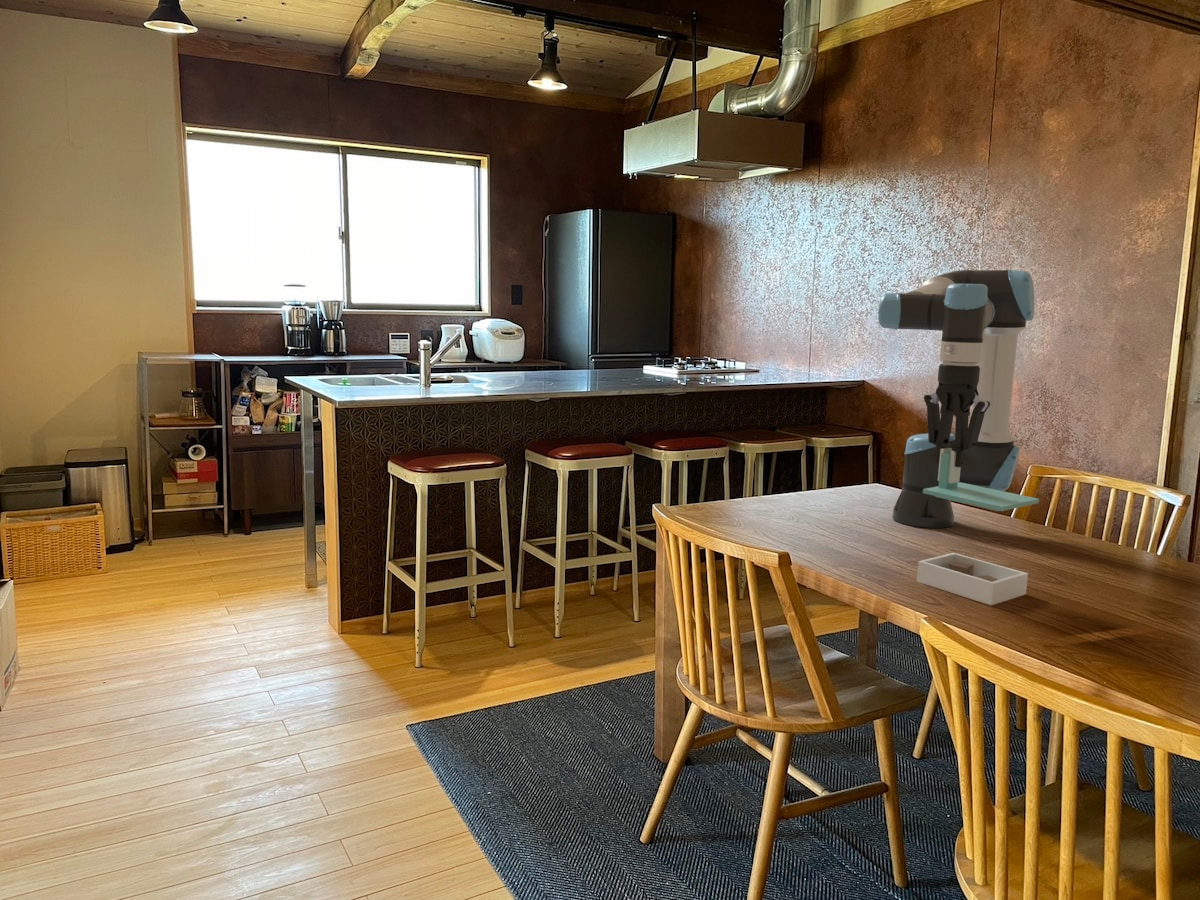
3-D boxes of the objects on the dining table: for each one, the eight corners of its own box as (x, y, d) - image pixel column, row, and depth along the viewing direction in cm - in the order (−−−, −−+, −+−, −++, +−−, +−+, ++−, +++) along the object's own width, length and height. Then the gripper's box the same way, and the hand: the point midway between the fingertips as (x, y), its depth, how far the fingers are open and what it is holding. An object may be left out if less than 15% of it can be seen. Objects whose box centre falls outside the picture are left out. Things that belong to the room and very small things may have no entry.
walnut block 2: (986, 592, 168) (988, 575, 167) (999, 598, 165) (1001, 580, 164) (971, 593, 167) (973, 576, 166) (985, 599, 163) (987, 582, 163)
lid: (959, 488, 178) (963, 448, 176) (1038, 506, 164) (1043, 462, 163) (922, 495, 171) (926, 454, 169) (1001, 514, 157) (1006, 469, 156)
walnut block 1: (954, 576, 177) (956, 560, 176) (971, 581, 175) (973, 564, 174) (947, 580, 175) (949, 563, 174) (964, 584, 172) (966, 567, 171)
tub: (951, 575, 180) (953, 552, 180) (1025, 598, 168) (1028, 573, 167) (916, 585, 174) (918, 561, 173) (990, 609, 161) (993, 583, 160)
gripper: (915, 361, 172) (905, 476, 177) (983, 367, 161) (971, 490, 165) (937, 360, 177) (927, 472, 181) (1005, 366, 165) (993, 486, 169)
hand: (948, 481), depth 173 cm, fingers closed on lid, 2 cm apart
